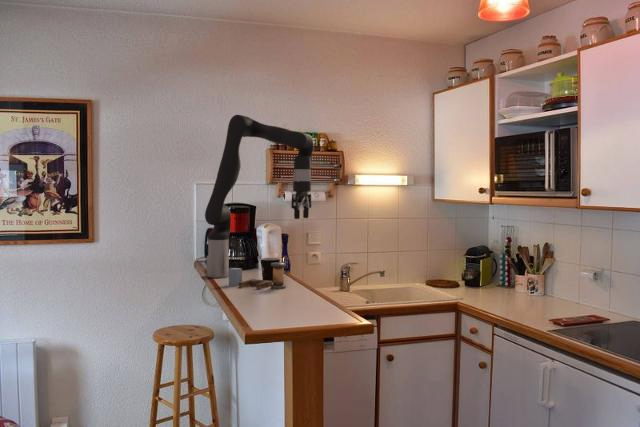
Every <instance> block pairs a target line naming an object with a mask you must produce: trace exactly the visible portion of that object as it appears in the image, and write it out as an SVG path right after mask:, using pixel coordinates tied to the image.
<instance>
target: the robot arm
mask: <svg viewBox="0 0 640 427" xmlns="http://www.w3.org/2000/svg"><path fill="white" fill-rule="evenodd" d="M243 137H244V138H247V137H248V138H260V139H264V140H266V141H268V142H272V143H274V144H279V145H280V146H281V145H282V146H287V147H289V148H293V149H297V150H298V153H297V155H296V156H295V157H294V159H293V166H294V167H293V176H292V178H293V179H292V180H293V181H292V182H293V183H292V191H293V192H295V193H292V194H291V209H293V211H294V213H293V216H294V217H293V218H294V219H295V220H300V217H301V216H300V215H301V214H300V213H301V212H300V211H301V207H302V210H303V211H302V213H303V215H302V216H303V217H302V218H304V219H309V216H310V214H309V210H310V209H311V208H312V194H311V193H309V192H311V190H312V188H311V186H312V184H311V183H312V174H311V173H312V171H311V164H312V163H311V162H312V161H311V159H312V155H313V150H314V148H315V147H314V146H315V144H314V143H315V142H314V138H313V136H311V134H308V133H304V132H300V131H299V132H298V131H295V130H290V129H289V128H283V127H281V126H276V125H269V124H265V123H261V122H260V121H256V120H255V119H253V118H251V117H249V116H245V115H242V114H234V115H233V116H232V117H231V118H230V120H229V122H228V125H227V132H226V139H225V143H224V147H223V152H222V156H221V160H220V163H219V165H218V166H219V167H218V171H217V175H216V179H215V182H214V185H213V189H212V192H211V195H210V198H209V201H208V204H207V206H206V209H205V212H204V219H205V221H206V223H207V224H209V225H210V226H213V228H212V230H211V231H210V232H208V237H207V238H208V240H207V241H208V245H207V246H208V248H207V250H208V255H207V256H206V277H209V278H216V279H218V278H219V279H220V278H227V277H228V278H229V269H230V267H229V264H230V263H229V262H230V261H229V260H230V259H229V258H230V257H229V255H230V254H229V250H230V249H229V246H230V244H229V237H230V234H231V228H232V227H231V226H232V225H231V224H232V214H231V210H230V208H229V207H228V206H227V205H225V200H226V198H227V196H228V195H229V193H230V192H231V191H232V189H233V188H234V186H235V184H236V183H237V180H238V179H239V178H238V177H239V174H240V170H241V156H240V145H241V141H242V139H243Z"/></svg>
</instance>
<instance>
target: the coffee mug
mask: <svg viewBox="0 0 640 427" xmlns="http://www.w3.org/2000/svg"><path fill="white" fill-rule="evenodd" d="M277 262H280V263H281V258H279V257H263V258H260V268H261V276H262V279H261V280H267V281H272V284H273V266H271V263H277Z"/></svg>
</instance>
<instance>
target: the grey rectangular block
mask: <svg viewBox="0 0 640 427" xmlns="http://www.w3.org/2000/svg"><path fill="white" fill-rule="evenodd" d="M239 282H243V268H242V267H241V268H239V267H232V268H229V276H228V286H229V287H239Z"/></svg>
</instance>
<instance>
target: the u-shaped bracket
mask: <svg viewBox="0 0 640 427" xmlns="http://www.w3.org/2000/svg"><path fill="white" fill-rule="evenodd" d="M271 285H273V283H272V281H267V280H263V279H256V278H254V279H253V278H251V279H248V280H244V281H243V280H242V282H239V286H238V288H242V289H243V288H246V287H250V286H253V287H254V286H255V289H256V290H263V289H266V288H269V287H270V288H271Z"/></svg>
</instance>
